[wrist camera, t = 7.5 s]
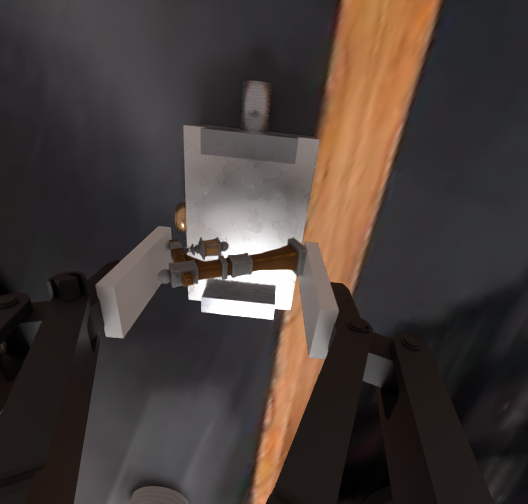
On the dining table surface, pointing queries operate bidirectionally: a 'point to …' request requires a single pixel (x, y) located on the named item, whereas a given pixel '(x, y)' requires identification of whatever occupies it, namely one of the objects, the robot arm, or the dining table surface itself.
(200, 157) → the machine vise
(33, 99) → the dining table surface
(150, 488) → the engine component
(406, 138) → the dining table surface
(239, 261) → the wooden post with brackets
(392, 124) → the dining table surface
